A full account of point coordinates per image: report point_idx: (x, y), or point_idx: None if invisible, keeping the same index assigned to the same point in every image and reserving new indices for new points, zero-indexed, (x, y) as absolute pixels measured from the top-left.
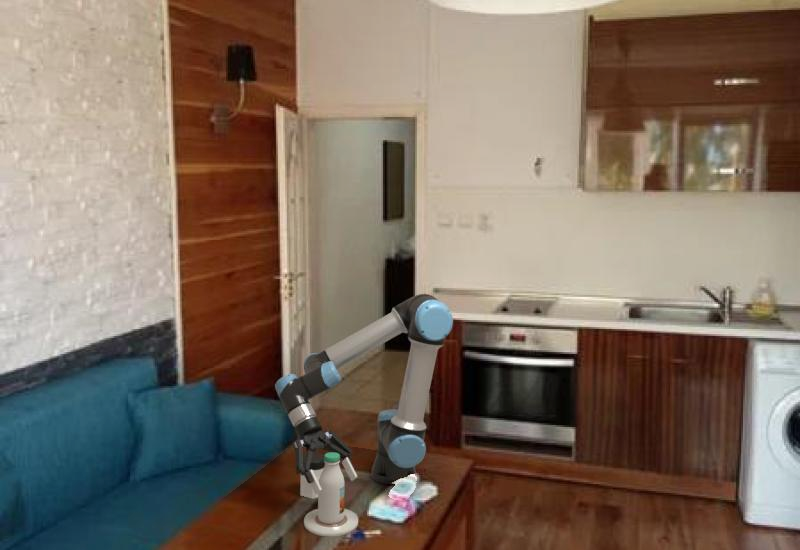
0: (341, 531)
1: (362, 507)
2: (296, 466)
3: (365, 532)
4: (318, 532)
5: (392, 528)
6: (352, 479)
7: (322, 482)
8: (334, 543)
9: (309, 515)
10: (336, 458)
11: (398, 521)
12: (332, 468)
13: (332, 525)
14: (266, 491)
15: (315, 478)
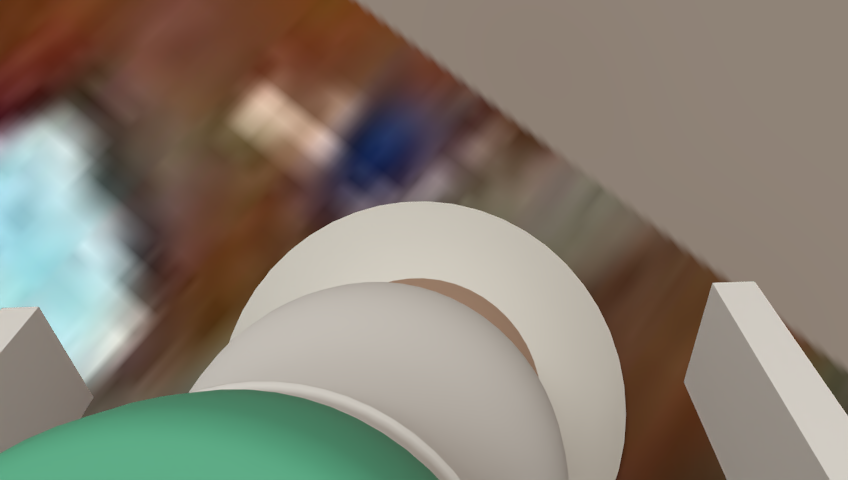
0: (472, 210)
1: None
2: None
3: (326, 150)
4: (599, 314)
5: (165, 85)
6: (73, 375)
7: (568, 477)
8: (571, 163)
9: None
10: (206, 405)
11: (71, 129)
12: (410, 419)
13: None
14: None
15: (843, 461)
